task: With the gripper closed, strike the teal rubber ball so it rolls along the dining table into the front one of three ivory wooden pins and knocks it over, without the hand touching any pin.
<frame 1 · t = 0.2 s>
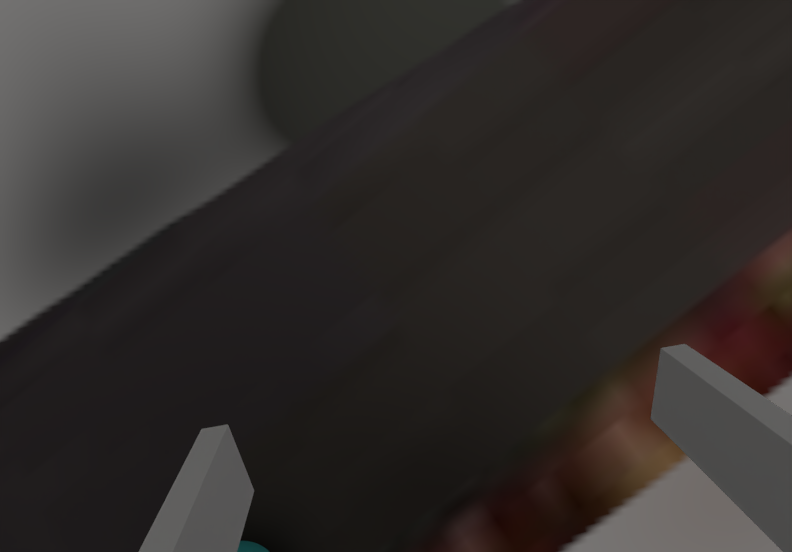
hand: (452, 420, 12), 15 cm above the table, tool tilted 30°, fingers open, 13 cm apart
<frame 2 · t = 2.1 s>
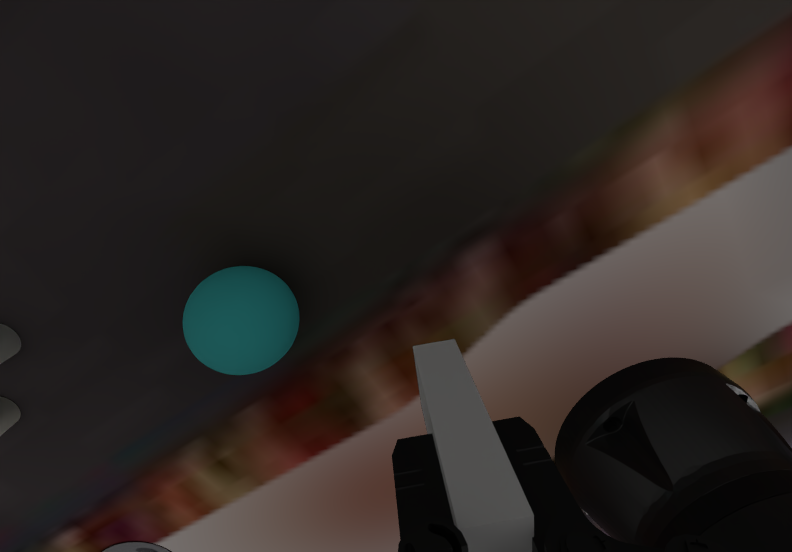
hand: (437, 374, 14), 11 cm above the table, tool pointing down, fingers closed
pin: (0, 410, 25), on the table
ball: (244, 319, 21), on the table
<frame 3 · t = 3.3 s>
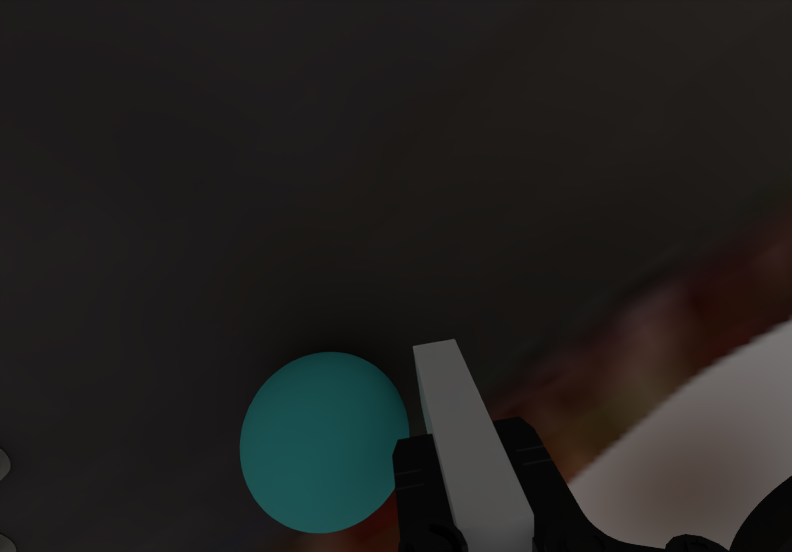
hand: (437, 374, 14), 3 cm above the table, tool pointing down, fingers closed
ball: (327, 434, 14), on the table
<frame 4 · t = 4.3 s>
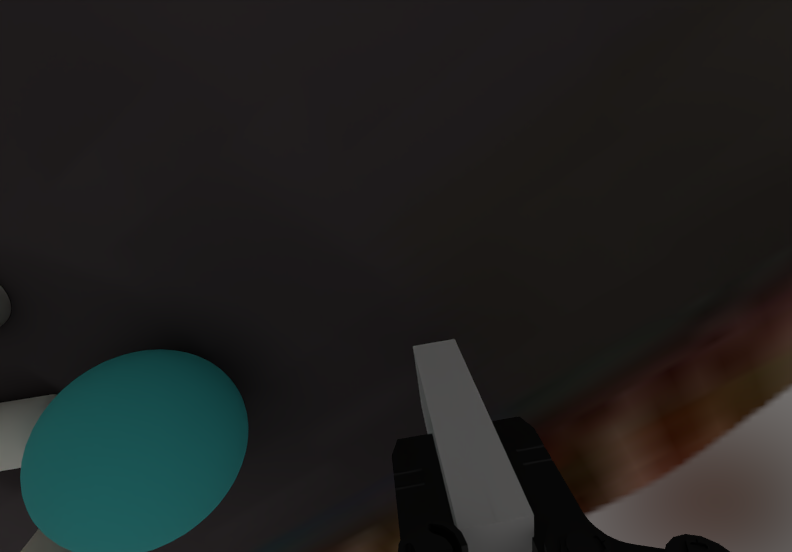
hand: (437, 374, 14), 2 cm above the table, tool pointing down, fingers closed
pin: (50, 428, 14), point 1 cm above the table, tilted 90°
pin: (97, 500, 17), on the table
ball: (149, 443, 12), on the table
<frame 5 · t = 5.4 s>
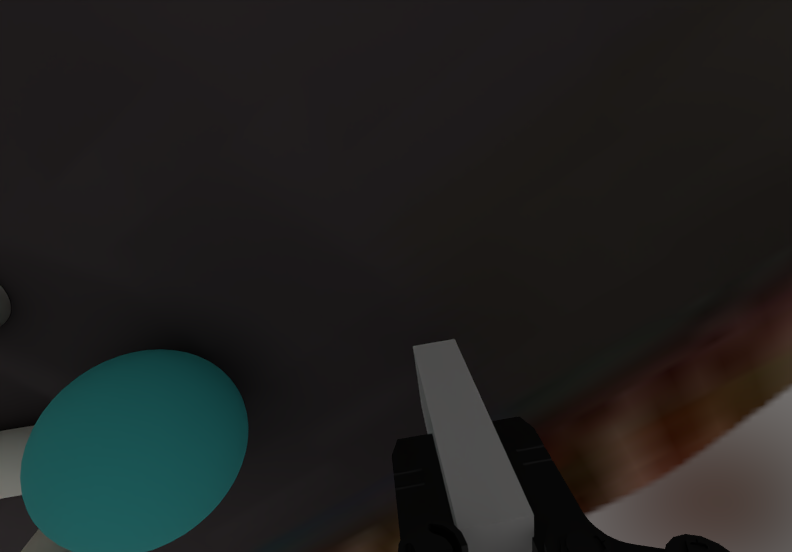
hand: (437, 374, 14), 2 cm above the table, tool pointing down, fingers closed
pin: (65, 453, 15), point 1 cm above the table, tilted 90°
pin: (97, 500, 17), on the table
ball: (149, 443, 12), on the table
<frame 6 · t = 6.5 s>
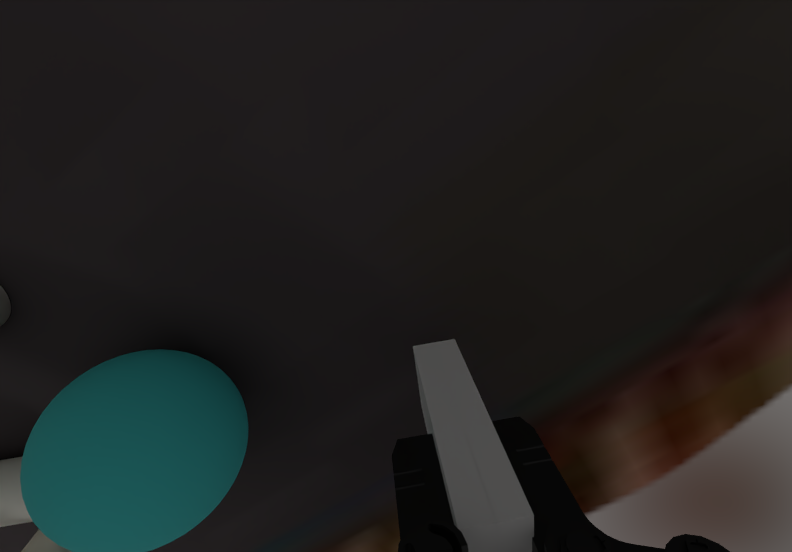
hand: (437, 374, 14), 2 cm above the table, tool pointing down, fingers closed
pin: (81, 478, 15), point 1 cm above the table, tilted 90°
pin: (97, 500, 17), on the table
ball: (149, 443, 12), on the table
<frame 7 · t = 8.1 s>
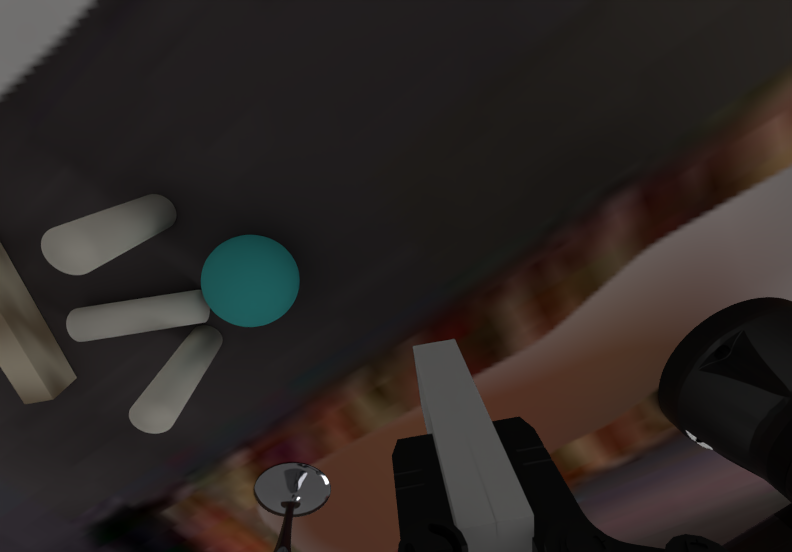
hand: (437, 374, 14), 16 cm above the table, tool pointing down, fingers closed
backstop: (24, 312, 27), on the table
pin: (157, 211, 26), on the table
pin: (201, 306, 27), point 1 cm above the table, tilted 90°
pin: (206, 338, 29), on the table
wine glass: (293, 488, 36), on the table
ball: (252, 280, 25), on the table
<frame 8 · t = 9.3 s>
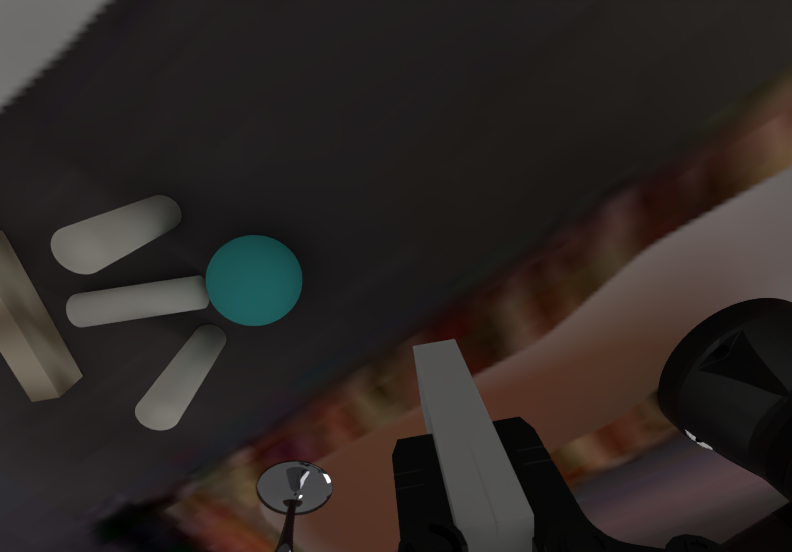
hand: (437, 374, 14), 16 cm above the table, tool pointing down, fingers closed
backstop: (32, 311, 28), on the table
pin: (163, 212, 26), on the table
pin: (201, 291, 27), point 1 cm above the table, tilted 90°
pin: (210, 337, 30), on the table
wine glass: (295, 487, 37), on the table
ball: (256, 280, 25), on the table
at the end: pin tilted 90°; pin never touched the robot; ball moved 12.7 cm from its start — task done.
